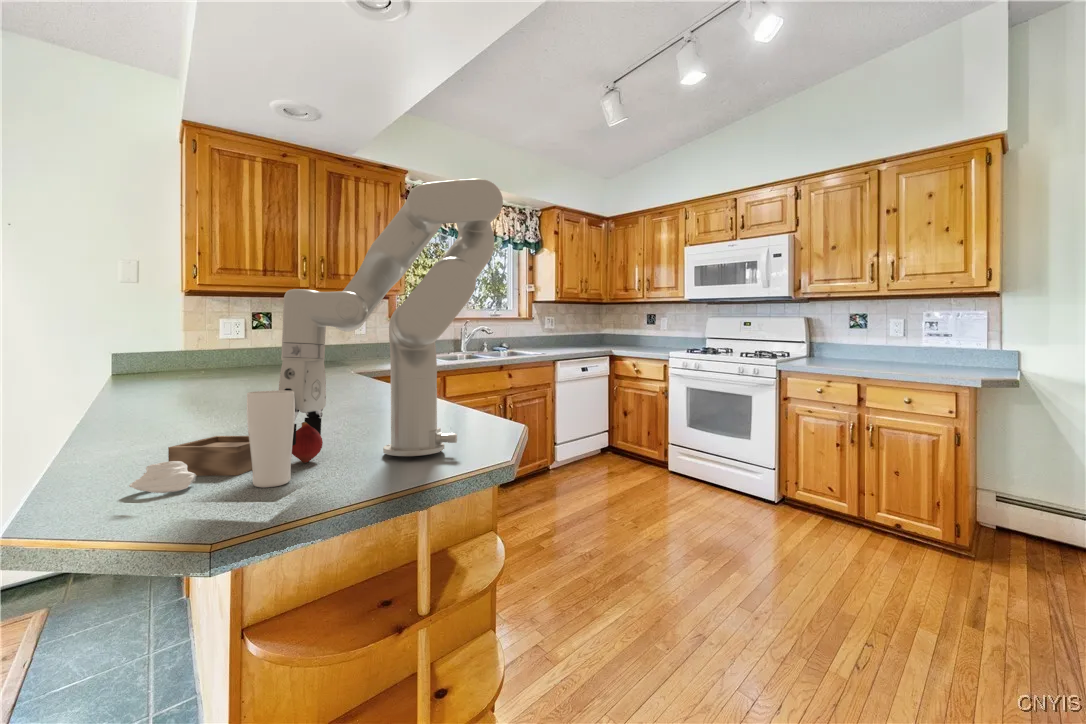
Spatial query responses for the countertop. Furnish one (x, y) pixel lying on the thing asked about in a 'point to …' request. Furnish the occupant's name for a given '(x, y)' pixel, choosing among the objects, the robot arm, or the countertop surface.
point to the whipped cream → (165, 478)
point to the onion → (307, 443)
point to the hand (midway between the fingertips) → (299, 441)
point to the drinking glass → (271, 436)
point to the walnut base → (214, 455)
